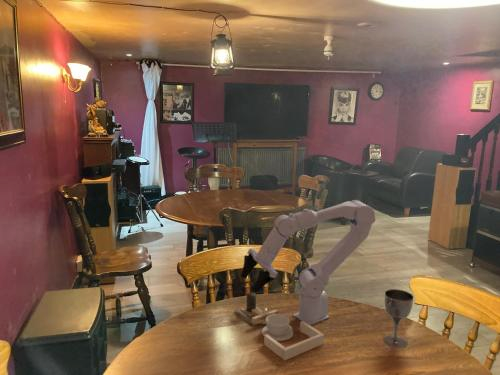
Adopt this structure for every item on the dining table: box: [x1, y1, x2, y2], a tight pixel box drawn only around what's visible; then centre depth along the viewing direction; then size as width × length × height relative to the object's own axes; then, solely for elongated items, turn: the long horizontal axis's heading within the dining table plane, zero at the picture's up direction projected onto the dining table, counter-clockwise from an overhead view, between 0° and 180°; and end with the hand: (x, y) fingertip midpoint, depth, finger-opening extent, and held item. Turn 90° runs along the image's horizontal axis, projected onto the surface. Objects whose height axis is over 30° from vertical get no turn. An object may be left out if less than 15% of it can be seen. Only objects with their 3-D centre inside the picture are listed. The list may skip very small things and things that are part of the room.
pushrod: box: [239, 292, 280, 326], centre depth 135 cm, size 10×12×7 cm
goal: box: [263, 320, 325, 361], centre depth 119 cm, size 15×10×3 cm, turn 125°
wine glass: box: [382, 288, 414, 348], centre depth 121 cm, size 8×8×15 cm
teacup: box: [261, 313, 294, 342], centre depth 125 cm, size 10×10×5 cm
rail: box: [234, 304, 268, 326], centre depth 136 cm, size 8×11×1 cm
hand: (248, 283), depth 131 cm, fingers open, 7 cm apart
